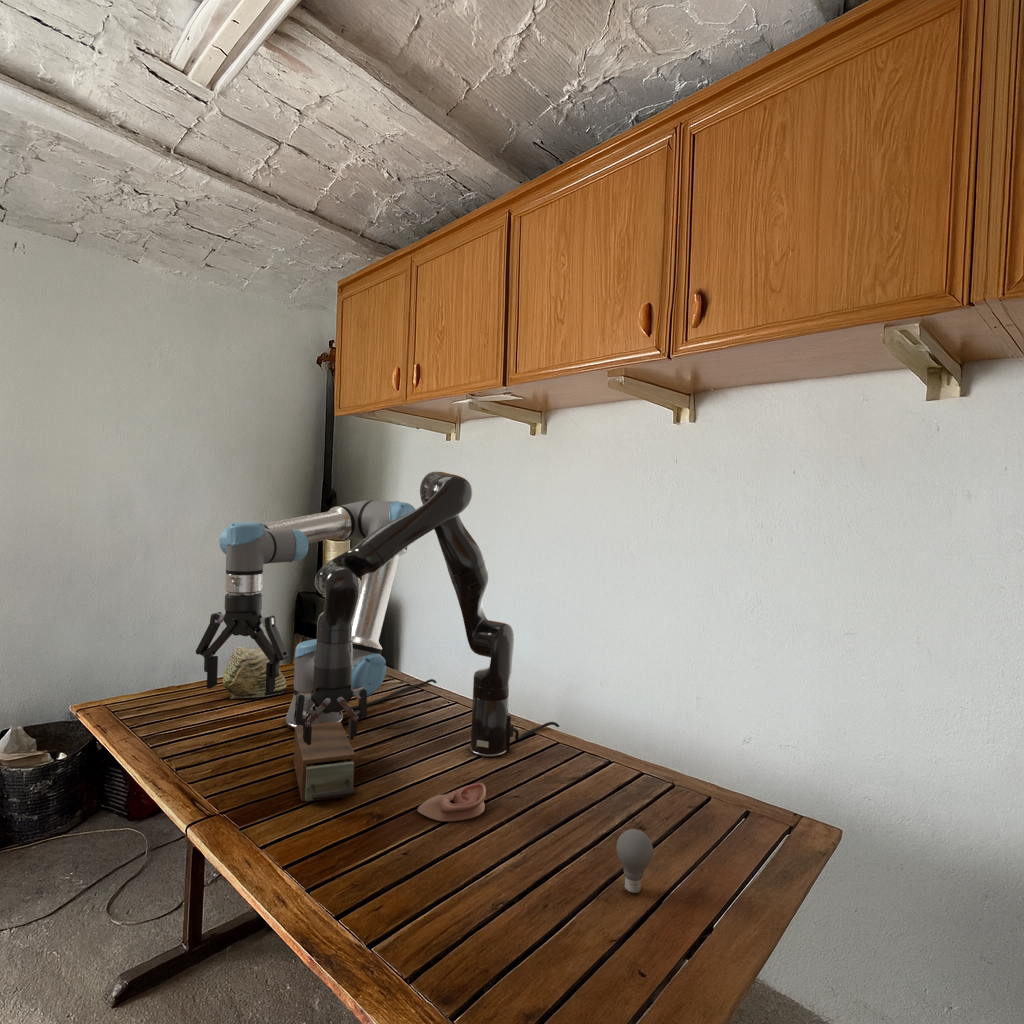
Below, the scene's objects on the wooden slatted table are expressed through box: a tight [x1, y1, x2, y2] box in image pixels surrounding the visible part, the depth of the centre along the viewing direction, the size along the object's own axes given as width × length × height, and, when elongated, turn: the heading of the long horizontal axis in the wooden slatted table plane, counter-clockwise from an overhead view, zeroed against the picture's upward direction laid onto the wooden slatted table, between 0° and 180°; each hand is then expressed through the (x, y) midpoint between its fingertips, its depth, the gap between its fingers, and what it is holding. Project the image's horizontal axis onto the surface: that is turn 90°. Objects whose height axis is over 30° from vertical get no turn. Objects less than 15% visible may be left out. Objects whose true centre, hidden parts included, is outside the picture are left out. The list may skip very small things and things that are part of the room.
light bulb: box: [615, 828, 654, 894], centre depth 106 cm, size 6×6×10 cm
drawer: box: [305, 759, 355, 802], centre depth 138 cm, size 25×9×7 cm, turn 24°
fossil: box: [222, 646, 288, 699], centre depth 198 cm, size 9×18×15 cm, turn 132°
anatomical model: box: [417, 782, 487, 822], centre depth 131 cm, size 13×4×12 cm
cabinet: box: [293, 722, 356, 802], centre depth 143 cm, size 21×11×9 cm, turn 23°
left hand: (240, 689), depth 139 cm, fingers open, 13 cm apart
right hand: (330, 741), depth 130 cm, fingers open, 8 cm apart
